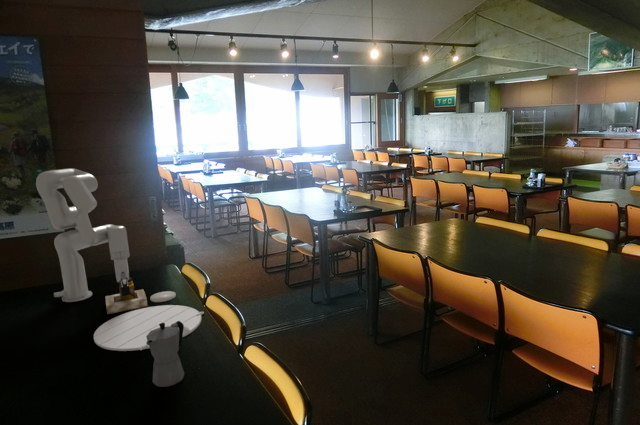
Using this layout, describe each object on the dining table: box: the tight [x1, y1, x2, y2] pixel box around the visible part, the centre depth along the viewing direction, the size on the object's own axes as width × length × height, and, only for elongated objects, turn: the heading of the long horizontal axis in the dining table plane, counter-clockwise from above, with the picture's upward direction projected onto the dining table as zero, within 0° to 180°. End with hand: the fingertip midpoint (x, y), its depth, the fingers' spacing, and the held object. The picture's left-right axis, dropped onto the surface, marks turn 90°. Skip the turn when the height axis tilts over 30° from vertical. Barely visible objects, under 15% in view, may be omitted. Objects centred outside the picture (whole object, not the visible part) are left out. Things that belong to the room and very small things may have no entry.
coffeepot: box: [146, 321, 185, 388], centre depth 137 cm, size 15×9×18 cm, turn 159°
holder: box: [104, 288, 149, 315], centre depth 200 cm, size 16×14×4 cm
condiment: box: [118, 276, 136, 301], centre depth 199 cm, size 7×8×12 cm
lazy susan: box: [93, 304, 205, 352], centre depth 176 cm, size 40×39×3 cm
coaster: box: [149, 290, 177, 303], centre depth 207 cm, size 11×11×1 cm
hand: (125, 292), depth 199 cm, fingers open, 9 cm apart
